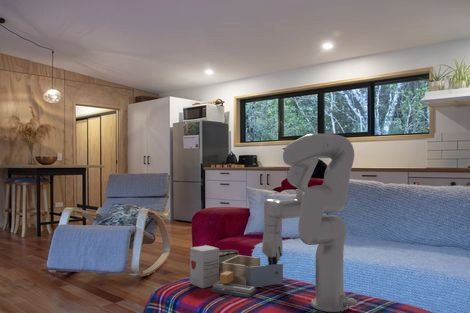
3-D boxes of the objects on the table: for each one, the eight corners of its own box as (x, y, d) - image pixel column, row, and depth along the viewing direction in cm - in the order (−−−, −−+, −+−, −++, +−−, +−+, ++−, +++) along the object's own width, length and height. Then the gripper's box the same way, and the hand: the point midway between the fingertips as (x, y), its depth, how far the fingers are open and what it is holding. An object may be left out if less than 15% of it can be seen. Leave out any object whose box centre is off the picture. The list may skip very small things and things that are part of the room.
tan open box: (260, 278, 170) (260, 257, 171) (244, 288, 156) (244, 265, 156) (237, 275, 175) (237, 255, 176) (220, 284, 161) (220, 262, 161)
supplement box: (189, 283, 162) (189, 247, 163) (206, 279, 168) (206, 244, 169) (202, 288, 156) (202, 251, 156) (219, 284, 162) (219, 247, 162)
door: (284, 284, 161) (284, 263, 161) (247, 289, 154) (247, 267, 155) (281, 283, 163) (281, 262, 163) (245, 287, 156) (245, 266, 157)
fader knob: (233, 285, 155) (233, 271, 155) (227, 289, 151) (227, 274, 151) (226, 284, 157) (226, 270, 157) (219, 287, 152) (219, 273, 152)
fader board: (256, 291, 152) (256, 285, 152) (248, 297, 145) (248, 291, 145) (220, 286, 159) (220, 280, 159) (210, 291, 152) (210, 285, 152)
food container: (230, 269, 185) (230, 248, 186) (239, 272, 180) (239, 250, 181) (209, 274, 177) (209, 251, 178) (217, 276, 173) (217, 254, 173)
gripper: (257, 226, 170) (256, 268, 170) (273, 232, 156) (273, 278, 156) (272, 225, 173) (272, 267, 173) (289, 230, 159) (289, 276, 159)
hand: (272, 272), depth 164 cm, fingers closed
